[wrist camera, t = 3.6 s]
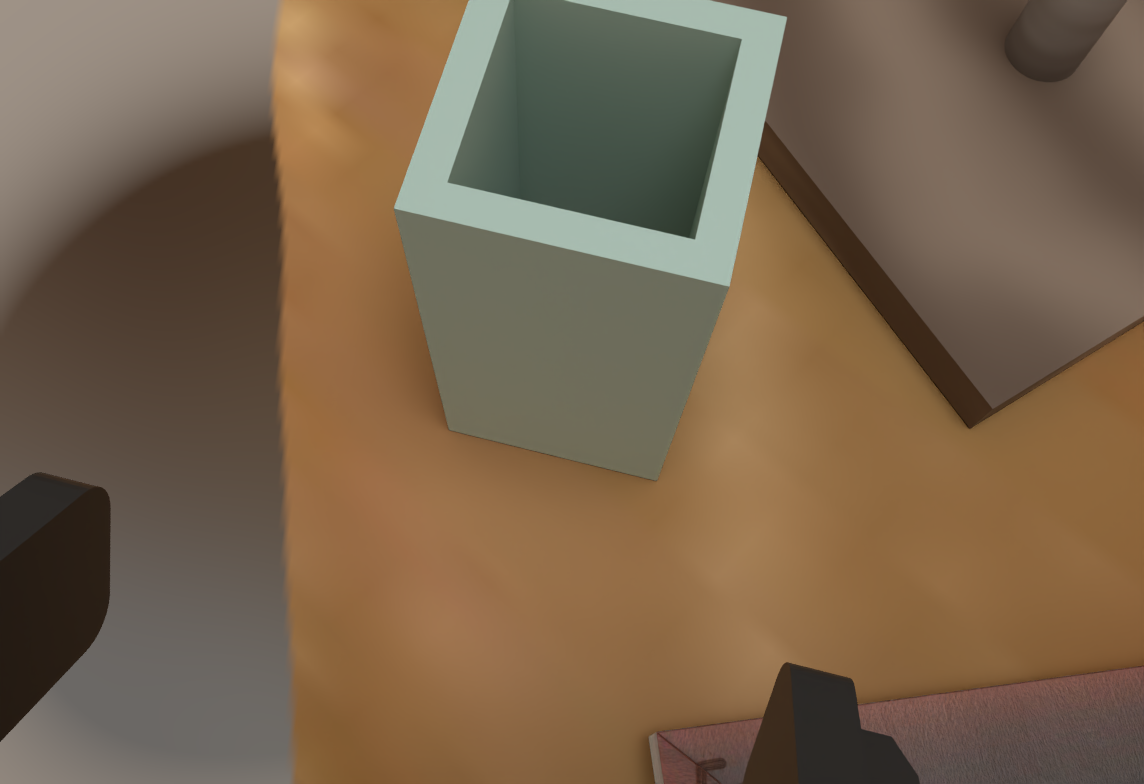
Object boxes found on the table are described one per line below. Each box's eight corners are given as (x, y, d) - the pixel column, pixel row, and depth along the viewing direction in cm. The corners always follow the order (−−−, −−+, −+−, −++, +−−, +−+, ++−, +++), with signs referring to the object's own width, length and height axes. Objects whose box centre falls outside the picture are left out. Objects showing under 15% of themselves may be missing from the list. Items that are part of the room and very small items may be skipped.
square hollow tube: (505, 248, 29) (486, -48, 19) (699, 293, 29) (787, 16, 19) (448, 430, 27) (393, 208, 17) (656, 481, 27) (729, 287, 17)
